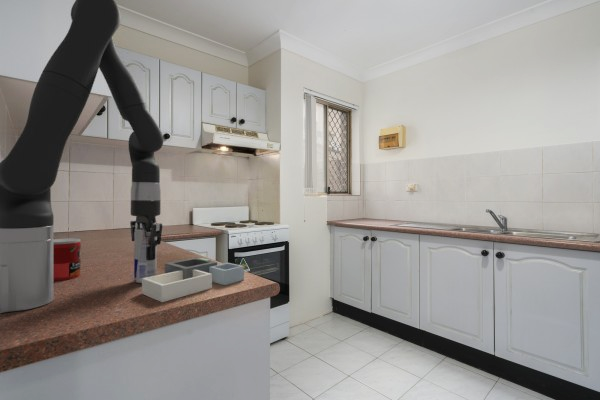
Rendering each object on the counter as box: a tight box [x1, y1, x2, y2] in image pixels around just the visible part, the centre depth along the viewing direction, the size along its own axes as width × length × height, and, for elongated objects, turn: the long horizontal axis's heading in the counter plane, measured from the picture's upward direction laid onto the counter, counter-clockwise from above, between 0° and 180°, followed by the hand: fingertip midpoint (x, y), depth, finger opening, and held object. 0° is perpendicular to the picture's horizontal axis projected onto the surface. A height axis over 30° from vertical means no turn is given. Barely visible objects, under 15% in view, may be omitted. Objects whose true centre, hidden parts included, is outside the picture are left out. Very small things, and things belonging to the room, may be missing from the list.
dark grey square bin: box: [164, 257, 218, 280], centre depth 89 cm, size 10×10×5 cm
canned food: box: [53, 237, 82, 282], centre depth 88 cm, size 8×8×11 cm
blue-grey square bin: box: [209, 262, 245, 286], centre depth 87 cm, size 7×7×4 cm
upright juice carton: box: [133, 229, 158, 284], centre depth 85 cm, size 6×6×15 cm
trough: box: [141, 269, 213, 303], centre depth 77 cm, size 14×10×4 cm
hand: (145, 258), depth 85 cm, fingers closed on upright juice carton, 5 cm apart
